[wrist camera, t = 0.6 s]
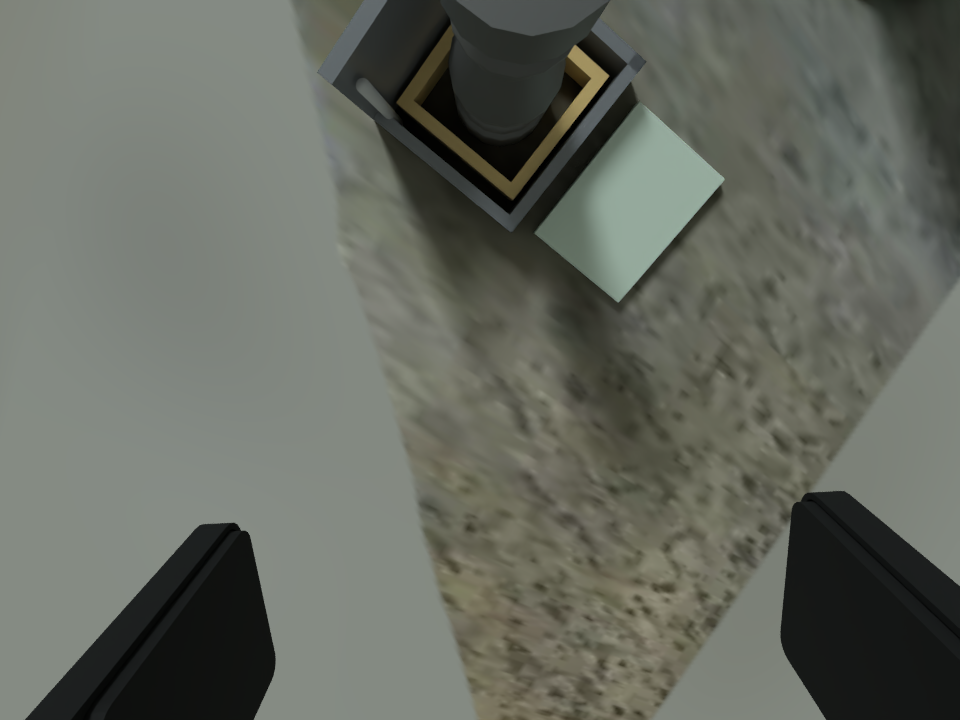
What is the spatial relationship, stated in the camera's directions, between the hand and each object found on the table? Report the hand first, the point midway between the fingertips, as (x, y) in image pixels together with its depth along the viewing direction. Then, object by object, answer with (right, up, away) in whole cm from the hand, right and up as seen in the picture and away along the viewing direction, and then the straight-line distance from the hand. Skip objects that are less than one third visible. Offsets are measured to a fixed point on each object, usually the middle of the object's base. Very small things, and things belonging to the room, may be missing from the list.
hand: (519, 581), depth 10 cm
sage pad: (+10, +15, +31) cm, 35 cm away
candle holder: (+1, +22, +29) cm, 36 cm away
